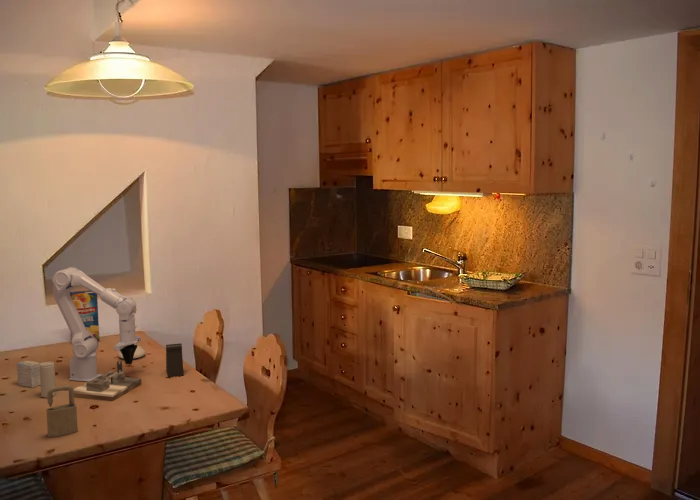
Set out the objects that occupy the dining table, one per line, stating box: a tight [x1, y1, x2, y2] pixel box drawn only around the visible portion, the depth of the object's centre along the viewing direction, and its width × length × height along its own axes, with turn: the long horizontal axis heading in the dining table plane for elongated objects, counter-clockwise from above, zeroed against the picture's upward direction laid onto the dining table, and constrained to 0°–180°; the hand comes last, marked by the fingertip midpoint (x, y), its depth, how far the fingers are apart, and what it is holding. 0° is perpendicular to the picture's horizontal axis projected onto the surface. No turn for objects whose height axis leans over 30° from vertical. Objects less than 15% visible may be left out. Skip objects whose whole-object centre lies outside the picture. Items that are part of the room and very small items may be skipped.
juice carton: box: [70, 289, 100, 343], centre depth 289 cm, size 12×8×24 cm, turn 120°
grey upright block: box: [16, 360, 42, 389], centre depth 229 cm, size 8×4×9 cm, turn 65°
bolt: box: [106, 360, 125, 383], centre depth 228 cm, size 8×2×6 cm, turn 166°
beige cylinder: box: [40, 361, 57, 399], centre depth 218 cm, size 5×5×12 cm
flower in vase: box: [117, 308, 146, 360], centre depth 264 cm, size 13×11×25 cm
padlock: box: [46, 384, 79, 438], centre depth 186 cm, size 4×8×15 cm, turn 123°
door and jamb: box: [73, 370, 142, 402], centre depth 224 cm, size 18×17×5 cm
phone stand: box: [165, 343, 184, 378], centre depth 243 cm, size 9×6×12 cm, turn 21°
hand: (128, 363), depth 237 cm, fingers closed
